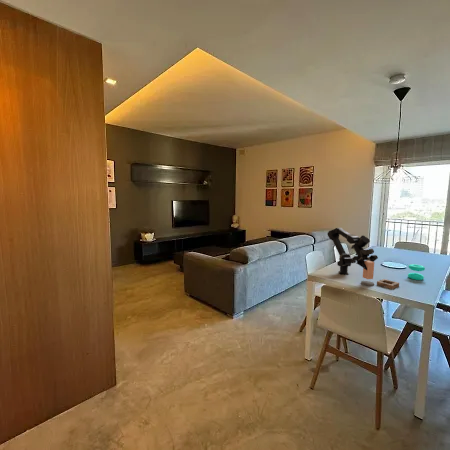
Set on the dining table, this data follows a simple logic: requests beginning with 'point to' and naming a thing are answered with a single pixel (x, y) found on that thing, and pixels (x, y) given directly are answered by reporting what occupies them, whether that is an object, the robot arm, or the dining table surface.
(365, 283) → the pad
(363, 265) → the robot arm
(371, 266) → the peg
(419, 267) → the donuts
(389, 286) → the socket plate
